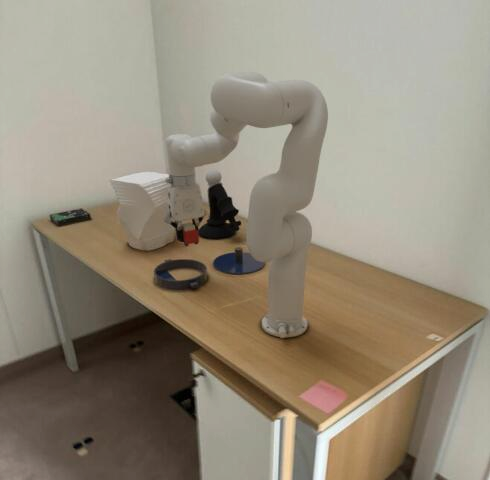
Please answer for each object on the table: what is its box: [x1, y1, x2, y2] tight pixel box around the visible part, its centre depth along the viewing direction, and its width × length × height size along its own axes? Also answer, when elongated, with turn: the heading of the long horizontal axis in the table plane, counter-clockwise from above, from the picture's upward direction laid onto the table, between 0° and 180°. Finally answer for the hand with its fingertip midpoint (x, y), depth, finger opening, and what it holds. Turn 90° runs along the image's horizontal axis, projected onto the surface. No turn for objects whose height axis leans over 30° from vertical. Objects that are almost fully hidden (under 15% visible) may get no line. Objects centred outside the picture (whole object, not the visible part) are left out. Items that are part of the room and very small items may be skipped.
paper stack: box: [109, 171, 175, 252], centre depth 176 cm, size 21×27×26 cm
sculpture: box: [198, 169, 242, 240], centre depth 182 cm, size 15×24×25 cm, turn 34°
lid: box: [212, 246, 266, 276], centre depth 162 cm, size 18×18×6 cm
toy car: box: [177, 221, 200, 247], centre depth 145 cm, size 8×4×6 cm, turn 30°
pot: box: [153, 258, 208, 291], centre depth 153 cm, size 17×23×4 cm
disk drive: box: [49, 208, 92, 227], centre depth 205 cm, size 10×3×15 cm
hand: (187, 238), depth 146 cm, fingers closed on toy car, 4 cm apart
